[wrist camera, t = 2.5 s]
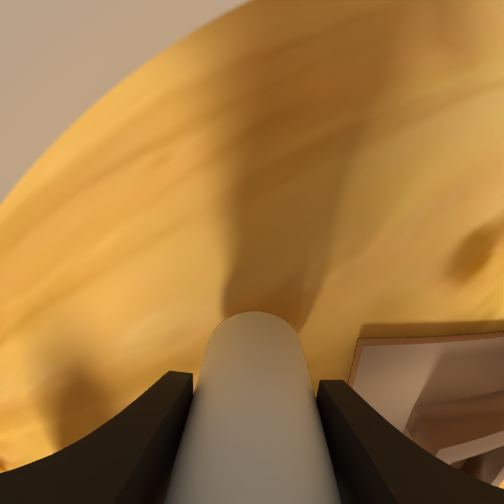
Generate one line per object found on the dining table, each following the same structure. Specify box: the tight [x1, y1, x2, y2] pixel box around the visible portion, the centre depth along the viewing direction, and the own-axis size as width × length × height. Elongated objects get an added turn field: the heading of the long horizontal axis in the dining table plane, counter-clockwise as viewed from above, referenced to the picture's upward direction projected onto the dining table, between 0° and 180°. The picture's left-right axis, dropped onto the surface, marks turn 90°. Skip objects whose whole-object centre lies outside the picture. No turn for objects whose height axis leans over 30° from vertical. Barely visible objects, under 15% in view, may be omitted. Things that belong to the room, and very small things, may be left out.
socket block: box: [348, 331, 504, 487], centre depth 12 cm, size 14×14×4 cm
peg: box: [164, 311, 341, 504], centre depth 6 cm, size 3×3×10 cm
